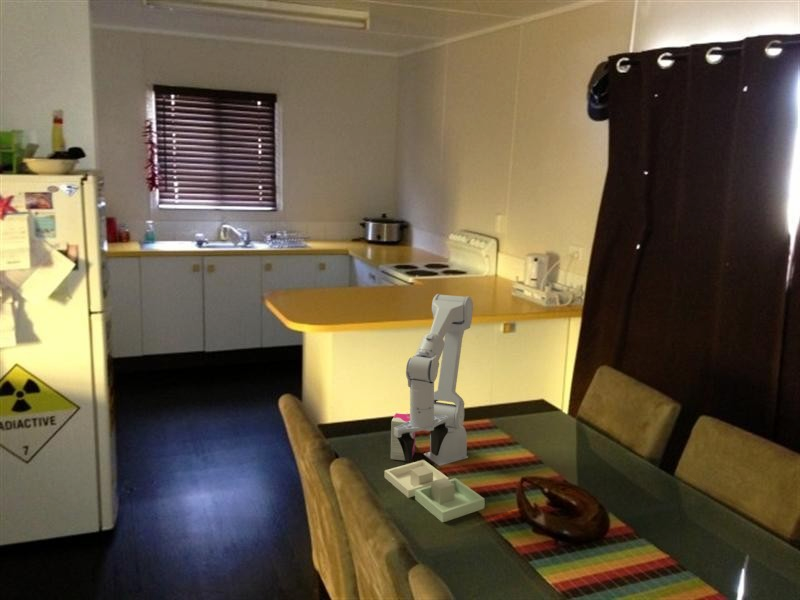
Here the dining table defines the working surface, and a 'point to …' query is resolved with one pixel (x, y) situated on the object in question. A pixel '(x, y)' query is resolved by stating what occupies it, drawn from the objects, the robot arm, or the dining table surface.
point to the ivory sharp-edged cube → (421, 476)
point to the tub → (451, 502)
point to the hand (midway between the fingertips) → (421, 457)
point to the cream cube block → (442, 490)
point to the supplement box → (395, 445)
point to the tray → (403, 477)
